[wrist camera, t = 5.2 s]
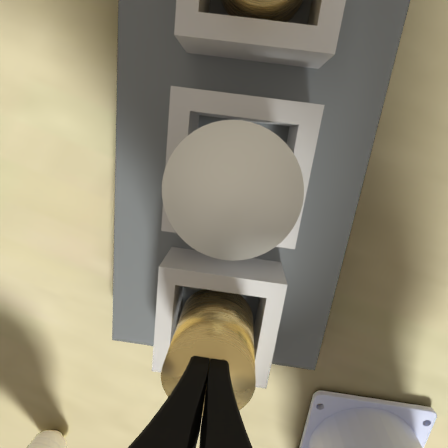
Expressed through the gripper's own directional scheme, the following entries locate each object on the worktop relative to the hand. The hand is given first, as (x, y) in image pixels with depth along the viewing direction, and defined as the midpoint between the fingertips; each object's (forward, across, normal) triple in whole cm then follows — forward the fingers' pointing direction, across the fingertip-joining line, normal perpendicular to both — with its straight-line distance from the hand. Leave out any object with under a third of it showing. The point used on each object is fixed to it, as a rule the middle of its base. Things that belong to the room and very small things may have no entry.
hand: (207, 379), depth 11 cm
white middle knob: (+2, 0, -8) cm, 8 cm away
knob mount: (+8, 0, -8) cm, 11 cm away
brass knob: (+4, 0, 0) cm, 4 cm away
